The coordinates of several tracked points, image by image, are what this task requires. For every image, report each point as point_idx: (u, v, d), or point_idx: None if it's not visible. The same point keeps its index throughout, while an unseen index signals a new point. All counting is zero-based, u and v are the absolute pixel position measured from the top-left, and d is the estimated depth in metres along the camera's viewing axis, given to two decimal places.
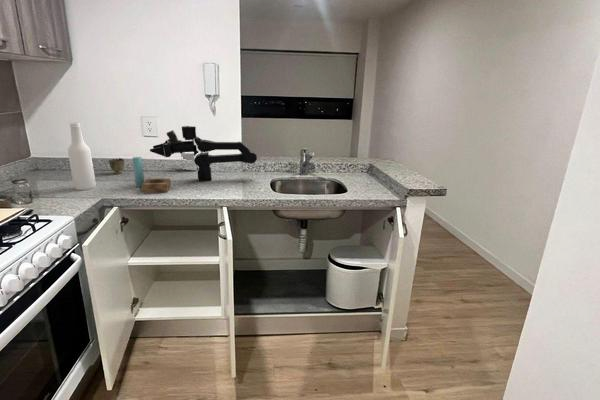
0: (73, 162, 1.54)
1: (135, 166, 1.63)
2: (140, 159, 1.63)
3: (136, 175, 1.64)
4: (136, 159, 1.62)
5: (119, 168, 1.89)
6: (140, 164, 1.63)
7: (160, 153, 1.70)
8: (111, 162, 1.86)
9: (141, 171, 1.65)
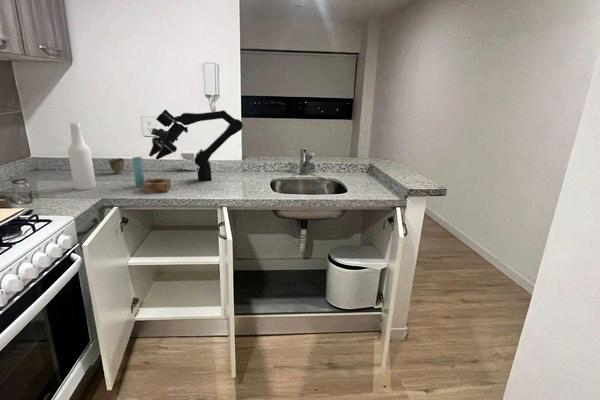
0: (73, 162, 1.54)
1: (135, 166, 1.63)
2: (140, 159, 1.63)
3: (136, 175, 1.64)
4: (136, 159, 1.62)
5: (119, 168, 1.89)
6: (140, 164, 1.63)
7: (166, 153, 1.66)
8: (111, 162, 1.86)
9: (141, 171, 1.65)
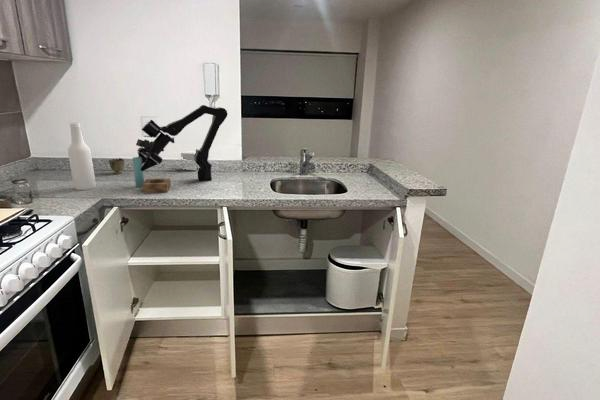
0: (73, 162, 1.54)
1: (135, 166, 1.63)
2: (140, 159, 1.63)
3: (136, 175, 1.64)
4: (136, 159, 1.62)
5: (119, 168, 1.89)
6: (140, 164, 1.63)
7: (151, 165, 1.63)
8: (111, 162, 1.86)
9: (141, 171, 1.65)
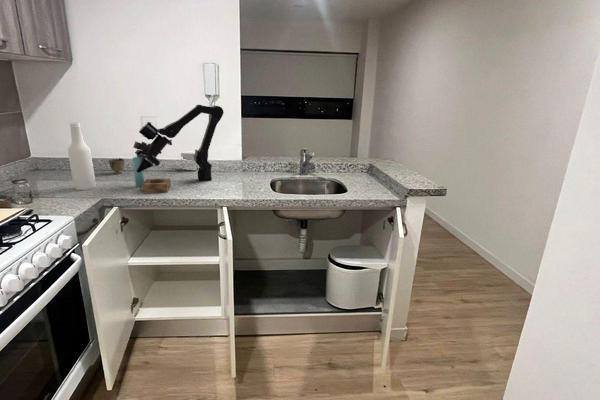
0: (73, 162, 1.54)
1: (135, 166, 1.63)
2: (140, 159, 1.63)
3: (136, 175, 1.64)
4: (136, 159, 1.62)
5: (119, 168, 1.89)
6: None
7: (147, 166, 1.64)
8: (111, 162, 1.86)
9: (141, 171, 1.65)
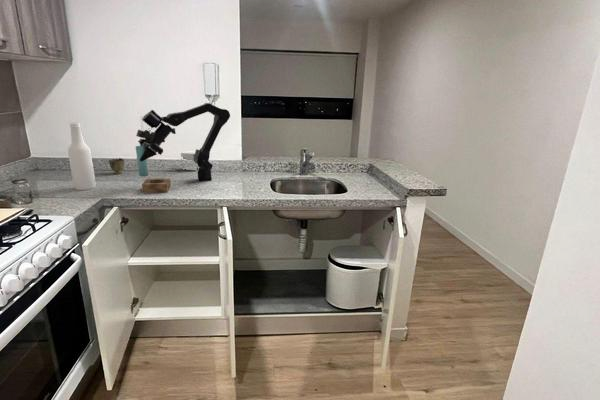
0: (73, 162, 1.54)
1: (138, 155, 1.60)
2: (143, 148, 1.61)
3: (139, 164, 1.62)
4: (139, 148, 1.59)
5: (119, 168, 1.89)
6: (143, 152, 1.61)
7: (150, 155, 1.62)
8: (111, 162, 1.86)
9: (144, 160, 1.62)
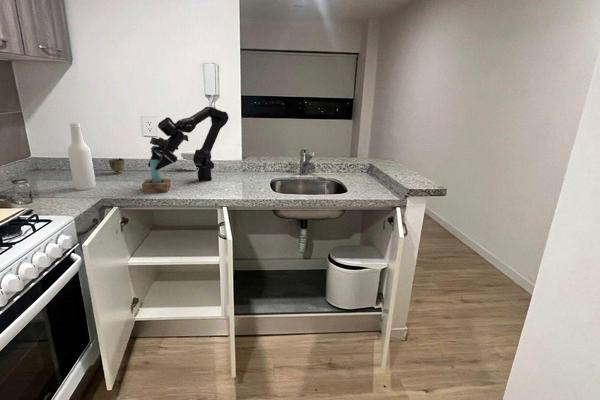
0: (73, 162, 1.54)
1: (152, 169, 1.58)
2: (157, 162, 1.59)
3: (153, 178, 1.60)
4: (153, 162, 1.57)
5: (119, 168, 1.89)
6: None
7: (166, 164, 1.57)
8: (111, 162, 1.86)
9: (158, 174, 1.60)
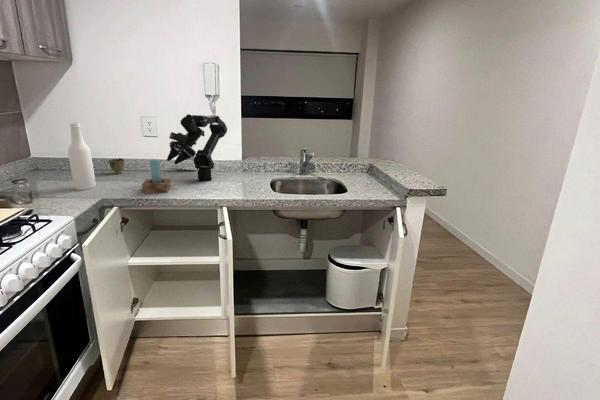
0: (73, 162, 1.54)
1: (152, 169, 1.58)
2: (157, 162, 1.59)
3: (153, 178, 1.60)
4: (153, 162, 1.57)
5: (119, 168, 1.89)
6: (157, 166, 1.59)
7: (185, 158, 1.62)
8: (111, 162, 1.86)
9: (158, 174, 1.60)
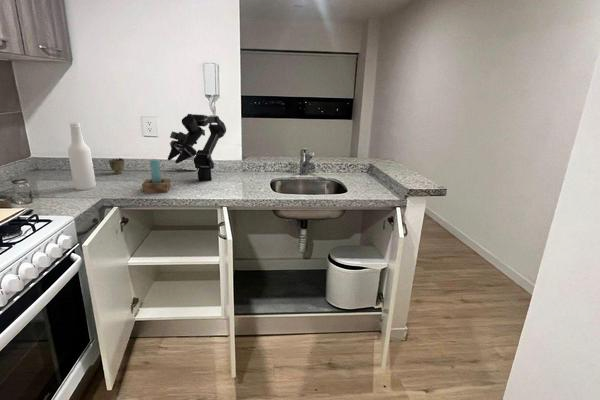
0: (73, 162, 1.54)
1: (152, 169, 1.58)
2: (157, 162, 1.59)
3: (153, 178, 1.60)
4: (153, 162, 1.57)
5: (119, 168, 1.89)
6: (157, 166, 1.59)
7: (186, 157, 1.62)
8: (111, 162, 1.86)
9: (158, 174, 1.60)
